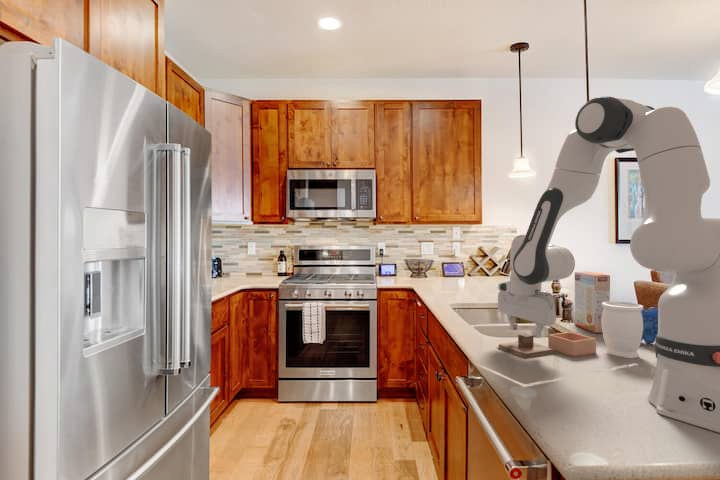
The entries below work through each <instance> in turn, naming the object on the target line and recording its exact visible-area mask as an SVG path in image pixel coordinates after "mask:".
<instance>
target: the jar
mask: <svg viewBox="0 0 720 480" xmlns="http://www.w3.org/2000/svg"><path fill="white" fill-rule="evenodd" d="M602 307H603V308H604V310H603V313H602V320H601V324H602V331H603V333H602V337H603V340H604V343H605V344H604V345H605V346H606V349H605V353H607V354H609V355H612V356H615V357H616V356H617V357H622V358H625V359H637V358H639V357H640V355H639V353H638V350H639V348H640V346H641V343H642V341H641V338H642V334H643V318H642V314H641V311H642V310H643V309H644V305H642V304H640V303H639V304H638V303H633V302H628V301H627V302H625V301H610V302H603V303H602Z"/></svg>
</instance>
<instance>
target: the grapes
mask: <svg viewBox="0 0 720 480" xmlns="http://www.w3.org/2000/svg"><path fill="white" fill-rule="evenodd" d="M641 314H642V318H643V334H642V338H641V342H642V341H644V342H645V343H646V344H649V345H651V344H653V343H655V339H656V335H657V334H658V307H654V306H652V307H649V308H648V309H647V310H646V309H645V308H643V310H642V311H641Z"/></svg>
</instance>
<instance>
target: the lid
mask: <svg viewBox="0 0 720 480" xmlns="http://www.w3.org/2000/svg"><path fill="white" fill-rule="evenodd" d="M517 336H518V337H517V339H518V341H511V342H505V343H504V342H503V343H499V344H498V347H499V348H500V349H503V350H505V351H504V352H506V351H508V352H511V353H513V354H512V355H514V354H516V355H519V356H522V357H524V358H523V359H525V358H528V359H530V358H529V357H534V358H536V357H535V356H540V357H542V356H541V355H546V356H548V355H547V354H552V355H554V354H553V353H555V351H554V349H552V348H549V347H548V346H546V345H542V344H538V343H536V342H534V336H533V334H528V333H519V334H518V335H517ZM500 349H499V350H500ZM503 350H502V351H503ZM508 352H507V353H508ZM511 353H510V354H511ZM516 355H515V356H516ZM519 356H518V357H519ZM522 357H521V358H522Z"/></svg>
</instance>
